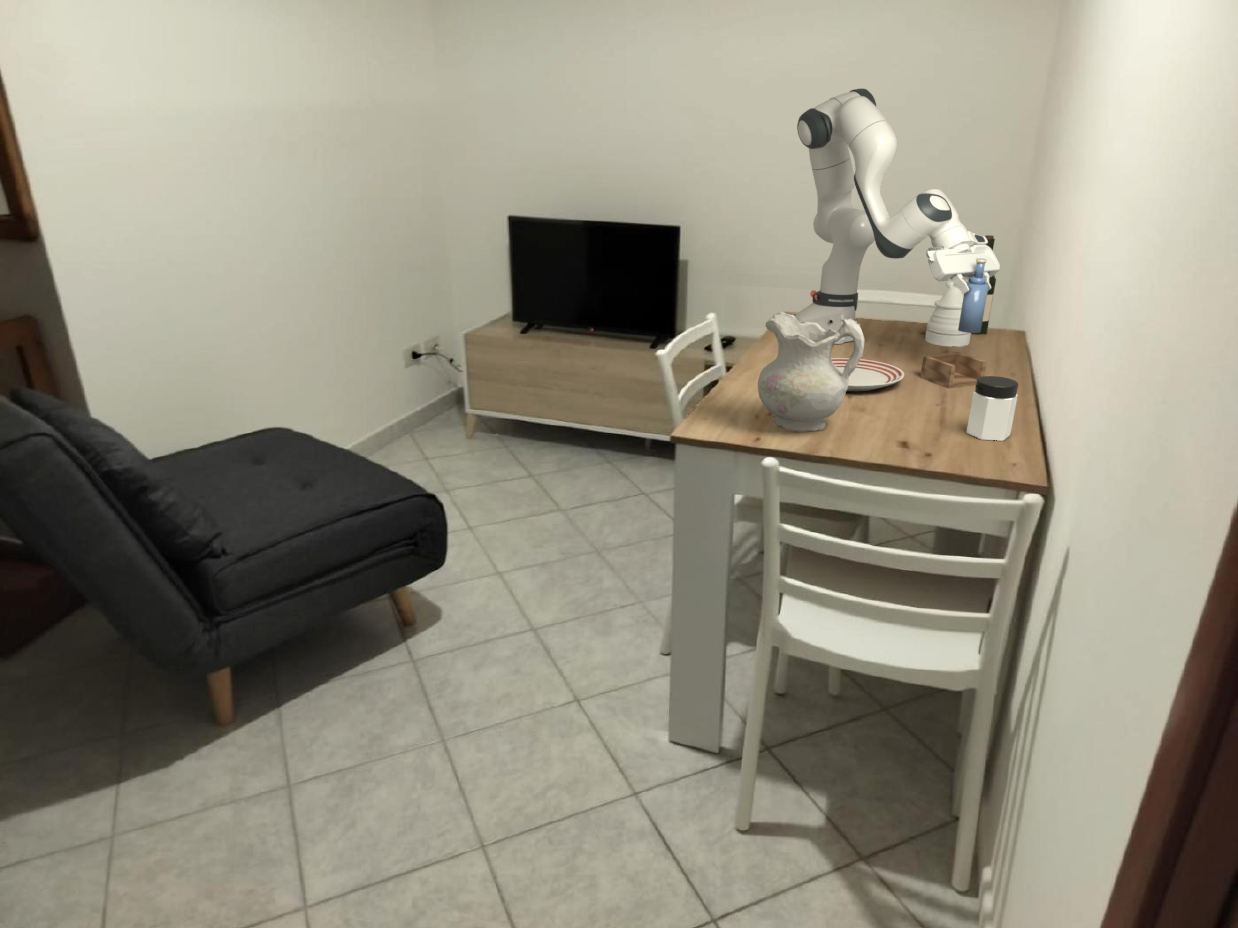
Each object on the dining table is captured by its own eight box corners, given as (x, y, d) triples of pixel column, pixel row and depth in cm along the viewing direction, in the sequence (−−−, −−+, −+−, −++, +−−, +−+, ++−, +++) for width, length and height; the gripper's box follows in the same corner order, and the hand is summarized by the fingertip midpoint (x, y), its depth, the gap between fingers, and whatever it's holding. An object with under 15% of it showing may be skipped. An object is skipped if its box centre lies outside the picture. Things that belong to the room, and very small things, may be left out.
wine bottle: (983, 328, 272) (999, 234, 260) (991, 334, 264) (1008, 237, 252) (956, 328, 272) (971, 234, 261) (964, 334, 265) (979, 237, 253)
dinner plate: (774, 382, 217) (775, 370, 216) (827, 362, 235) (828, 350, 234) (871, 405, 200) (873, 392, 198) (920, 381, 218) (922, 368, 217)
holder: (982, 383, 215) (986, 361, 213) (948, 388, 211) (951, 366, 209) (953, 372, 224) (957, 352, 222) (920, 377, 220) (923, 356, 218)
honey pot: (916, 339, 258) (924, 281, 251) (942, 334, 265) (951, 277, 258) (951, 348, 248) (960, 288, 241) (978, 342, 255) (988, 283, 248)
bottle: (958, 332, 212) (970, 260, 205) (957, 327, 216) (969, 257, 210) (981, 333, 210) (993, 261, 203) (979, 329, 215) (992, 258, 208)
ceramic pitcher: (852, 419, 193) (863, 311, 185) (855, 442, 175) (868, 323, 167) (758, 412, 197) (765, 307, 190) (752, 434, 179) (759, 318, 172)
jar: (975, 425, 186) (984, 373, 181) (1013, 433, 181) (1024, 380, 176) (961, 435, 180) (970, 382, 175) (1000, 444, 175) (1011, 389, 170)
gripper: (931, 240, 206) (955, 286, 202) (990, 236, 215) (1014, 281, 210) (915, 256, 212) (939, 301, 207) (973, 252, 220) (997, 295, 216)
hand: (977, 291), depth 209 cm, fingers closed on bottle, 5 cm apart
